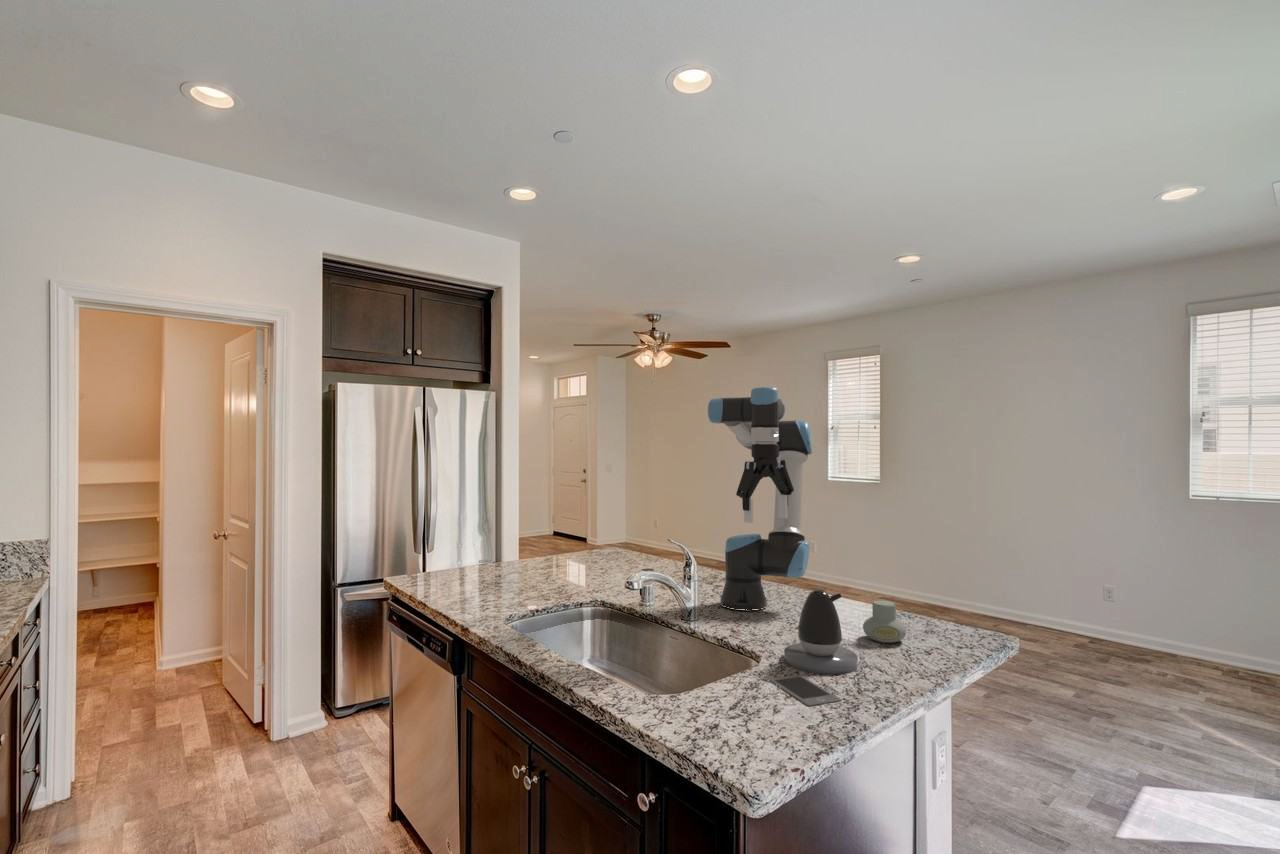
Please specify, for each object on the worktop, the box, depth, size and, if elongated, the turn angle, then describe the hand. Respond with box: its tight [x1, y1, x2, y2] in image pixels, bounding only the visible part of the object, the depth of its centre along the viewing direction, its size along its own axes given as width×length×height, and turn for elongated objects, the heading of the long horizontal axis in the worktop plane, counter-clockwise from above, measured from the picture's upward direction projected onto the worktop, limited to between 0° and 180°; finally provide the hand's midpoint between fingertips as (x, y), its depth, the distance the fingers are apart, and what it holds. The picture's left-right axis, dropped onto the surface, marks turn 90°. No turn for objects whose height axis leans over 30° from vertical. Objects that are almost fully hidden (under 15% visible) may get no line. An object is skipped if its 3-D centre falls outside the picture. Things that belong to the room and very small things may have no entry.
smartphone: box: [769, 674, 842, 707], centre depth 131 cm, size 15×8×1 cm, turn 20°
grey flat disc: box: [783, 642, 858, 675], centre depth 148 cm, size 17×17×2 cm
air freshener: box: [862, 600, 907, 644], centre depth 165 cm, size 11×8×10 cm
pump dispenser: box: [797, 589, 843, 657], centre depth 149 cm, size 10×10×15 cm
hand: (766, 520), depth 168 cm, fingers open, 13 cm apart
